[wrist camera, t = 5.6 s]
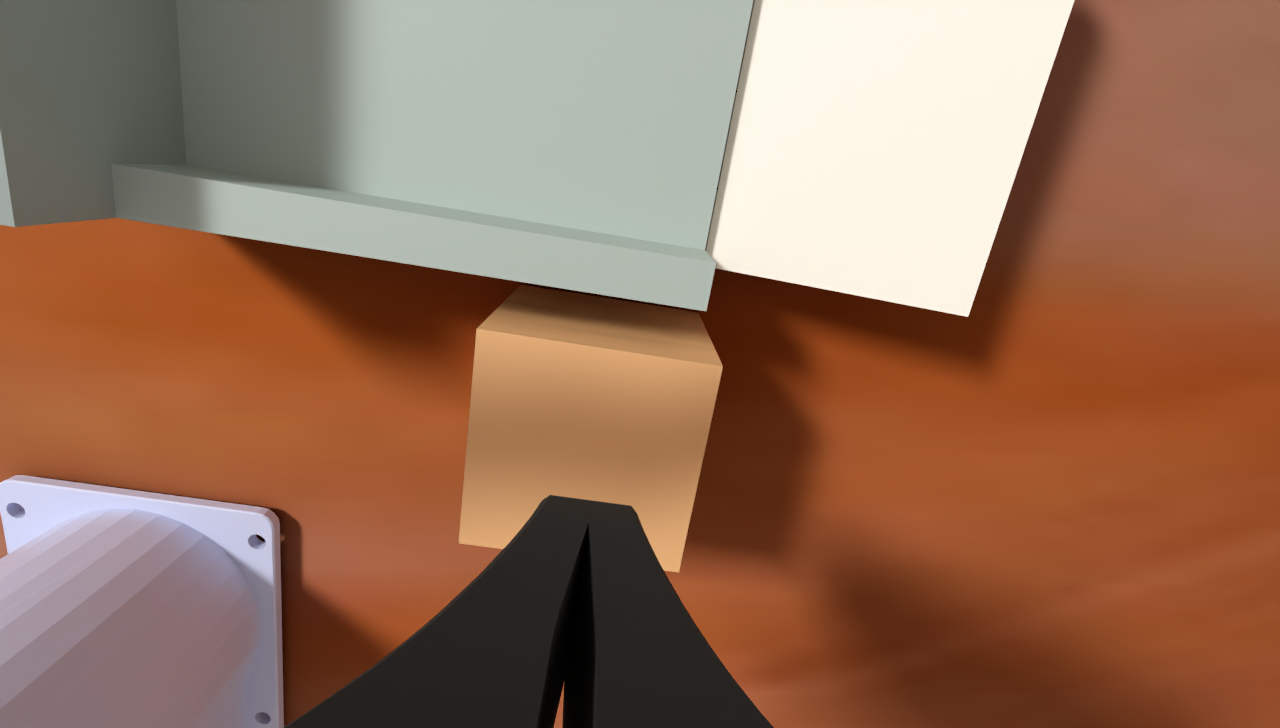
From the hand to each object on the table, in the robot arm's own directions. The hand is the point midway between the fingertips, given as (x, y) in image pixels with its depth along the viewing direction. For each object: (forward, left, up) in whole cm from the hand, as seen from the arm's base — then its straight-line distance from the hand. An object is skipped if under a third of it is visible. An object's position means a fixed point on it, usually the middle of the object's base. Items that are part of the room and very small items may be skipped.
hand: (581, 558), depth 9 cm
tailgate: (+8, -2, -7) cm, 11 cm away
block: (0, 0, -9) cm, 9 cm away
